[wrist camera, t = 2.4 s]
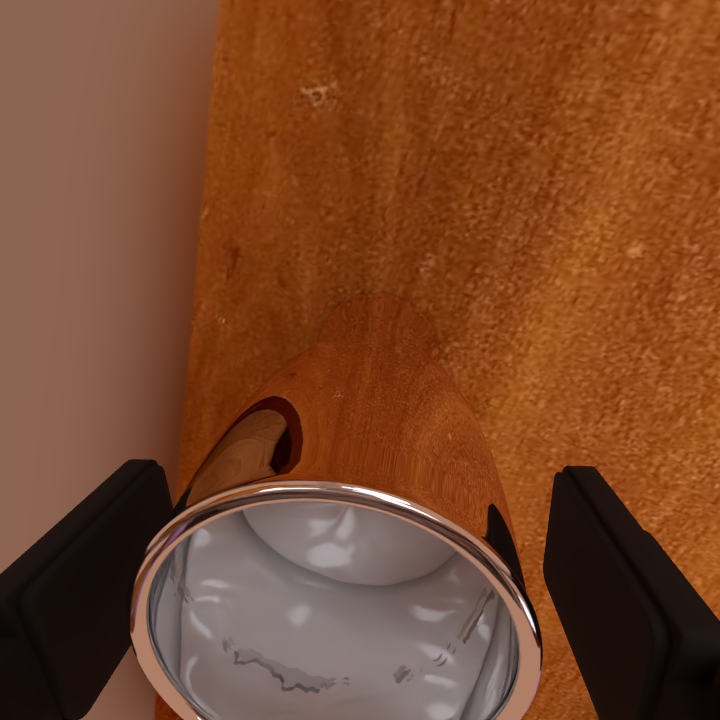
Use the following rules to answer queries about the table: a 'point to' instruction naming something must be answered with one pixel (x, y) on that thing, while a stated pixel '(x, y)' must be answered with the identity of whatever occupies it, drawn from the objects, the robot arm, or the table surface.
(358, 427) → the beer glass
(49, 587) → the robot arm
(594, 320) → the table surface
